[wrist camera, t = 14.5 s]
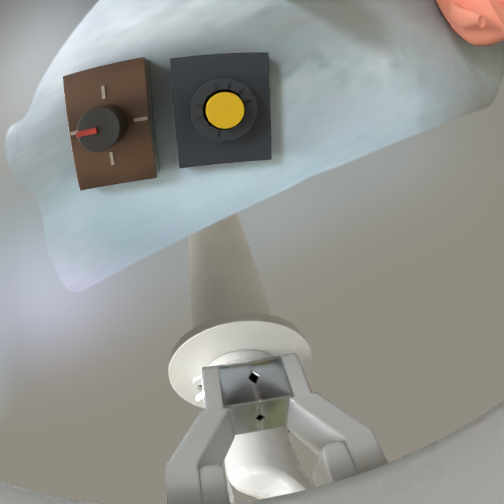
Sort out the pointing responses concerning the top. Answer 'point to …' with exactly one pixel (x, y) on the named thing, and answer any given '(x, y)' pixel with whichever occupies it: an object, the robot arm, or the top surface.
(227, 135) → the button box
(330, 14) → the top surface
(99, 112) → the knob
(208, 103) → the button
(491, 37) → the teapot
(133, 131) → the dial panel
